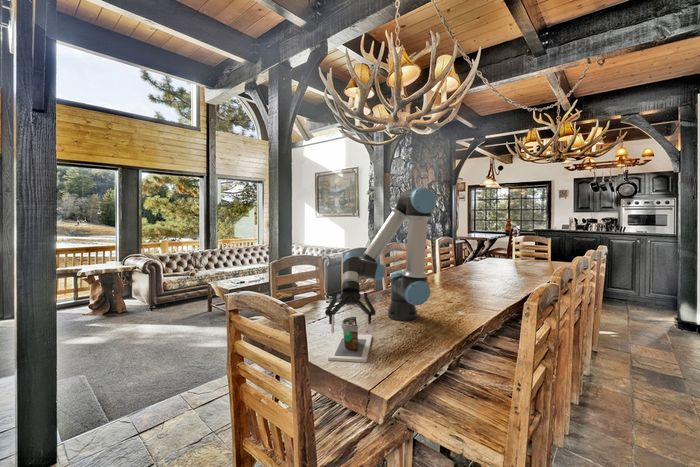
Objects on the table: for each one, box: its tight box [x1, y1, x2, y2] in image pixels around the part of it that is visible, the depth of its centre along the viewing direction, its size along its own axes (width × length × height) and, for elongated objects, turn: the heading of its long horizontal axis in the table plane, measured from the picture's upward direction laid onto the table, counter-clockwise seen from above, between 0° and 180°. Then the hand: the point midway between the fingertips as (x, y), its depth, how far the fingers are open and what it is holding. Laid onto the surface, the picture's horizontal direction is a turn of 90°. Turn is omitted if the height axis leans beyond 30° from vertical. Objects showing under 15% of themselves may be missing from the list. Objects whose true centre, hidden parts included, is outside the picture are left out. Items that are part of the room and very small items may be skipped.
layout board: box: [327, 333, 373, 363], centre depth 131 cm, size 14×24×1 cm, turn 171°
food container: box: [341, 316, 359, 351], centre depth 129 cm, size 12×6×10 cm, turn 2°
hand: (349, 331), depth 128 cm, fingers open, 13 cm apart
